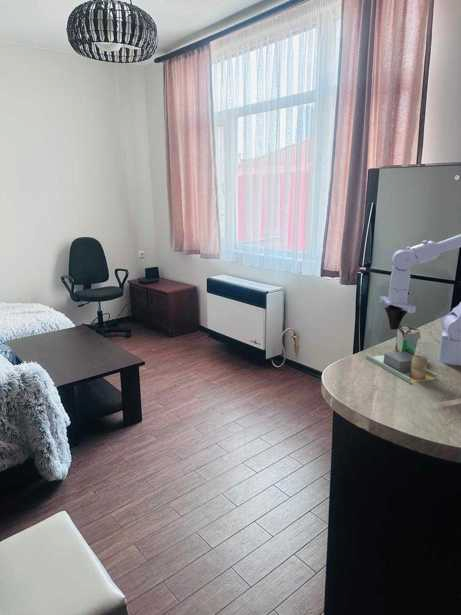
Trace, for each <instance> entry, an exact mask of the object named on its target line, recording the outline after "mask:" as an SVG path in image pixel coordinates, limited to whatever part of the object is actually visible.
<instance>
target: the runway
mask: <svg viewBox="0 0 461 615" xmlns="http://www.w3.org/2000/svg"><path fill="white" fill-rule="evenodd" d="M393 352H394V351H392V350H389V352H388V353H393ZM364 358H366V360H368V361H370V362H371V363H374V364H375V365H377V366H379V367H381V368H382V369H384V370H385V371H387V372H389V373H391V374H393V375H394V376H396V377H397V378H399V379H401V380H403V381H405V382H407V383H408V384H411V383H419V382H425V381H431V380H437V379H438V374H437V373H435V372H433V371H431V370H429V369H428V368H426V375H425V379H424V380H416V379H413V378H411V377H410V373H406V374H402V373H400V372H399V371H397V370H395V369H393V368H391V367H390V366H388V365H386V364H384V363H383V361H384V355H383V354H382V355H374V356H372V355H370V354H368V353H366V354H365V357H364Z"/></svg>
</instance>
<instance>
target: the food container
mask: <svg viewBox="0 0 461 615" xmlns="http://www.w3.org/2000/svg"><path fill="white" fill-rule="evenodd" d="M395 337H396V338H395V347H394V350H395V352H401V351H405V352H407V353H409V354H411V355H413V356H415V355H416V350H417V349H416V348H417V344H418V340H419V339H421V332H420V329H419V328H417V327H416V326H413V325H409V324H403V323H400V325H399V327H398V329H396V336H395Z"/></svg>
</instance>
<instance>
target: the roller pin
mask: <svg viewBox="0 0 461 615" xmlns="http://www.w3.org/2000/svg"><path fill="white" fill-rule="evenodd" d="M427 366H428V357H426V356H425V355H420V354H418V355H416V354H414V356H413V357H412V365H411V372H410V377H411V378H413V379H416V380H424V379H425V375H426V369H428V368H427Z"/></svg>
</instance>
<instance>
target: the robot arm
mask: <svg viewBox="0 0 461 615" xmlns="http://www.w3.org/2000/svg"><path fill="white" fill-rule="evenodd" d="M421 242H422V243H420V244H417V245H413V246H411V247H410V246H409V245H408V246H406V249H398V250H397V251H395V252H394V253H393V254H392V256H391V258H390V259H391V263H392V267H391V273H390V282H389V290H388V296H385V295H384V296H380V297H379V303H382V304H385V305H388V306H385V307H384V310H385V313H386V315H387V317H388V324H389V328H390V330H397V329H398V327H399V325H400V324H401V322H402V320H403V318H404V317H405V315H406V314H407V313H408V314H415V313H416V309H417V306H414V305H412V304H411V303H410V302H408V296H409V289H410V281H411V271H412V270H411V269H412V267H414V265H415V266H417V265H420V264H424V263H427V262H429V261H433V260H435V259H437V258H438V257H439V255H440V254H441V253H444V252H448V251H451V250H454V249H458V248H461V233H459V234H457V235H454V236H452V237H450V238H447V239H444V240H441V241H439V242H435V241H434V240H429V241H428V240H426V239H425V240H422V241H421ZM441 327H442V328H443V332H441V336H440V341H439V348H438V354H437V361H438V362H441V363H443V364H446V365H450V366H460V367H461V301H460V302H459V304H458V305H457V306H455V307H454V308H452V309H451V311H450V312H449V313H448V314H446V315H445V316H443V318H442V320H441Z"/></svg>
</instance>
